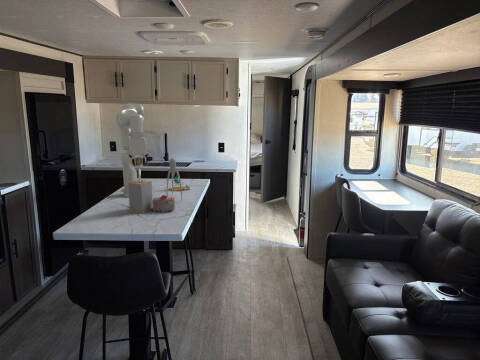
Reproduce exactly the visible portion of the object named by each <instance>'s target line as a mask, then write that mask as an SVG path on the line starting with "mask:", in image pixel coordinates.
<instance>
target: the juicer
mask: <svg viewBox="0 0 480 360" xmlns="http://www.w3.org/2000/svg"><path fill="white" fill-rule="evenodd" d="M170 174H171V181H172V182H171V188H172V190H171V191H172V193H171V194H172V195H174V190H173V188H174V181H173V180H174V178H175V174H176V176H177V175H178V178H179V182H180V184H179V187H180V189H181V190H180V199H181V201H183V191H182V190H183V189H182V187H183V186H182V185H181V184H182V180H181V177H180V173H179V170H178V169H177V163H176V159H175V158H174V157H172V158H171V157H170V159H169V170H168V173H167V179H166V196H167V197H169V194H168V193H169V190H168V189H169V179H170ZM180 180H181V181H180Z"/></svg>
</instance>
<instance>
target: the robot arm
mask: <svg viewBox="0 0 480 360" xmlns="http://www.w3.org/2000/svg"><path fill="white" fill-rule="evenodd" d="M144 114H145V108H144V106H143V104H141V103H126V104H123V105H122V106H121V111H120V112H117V113H116V115H115V120H116V121H115V122H116V123H117V126H118V129H119V131H120V139H121V140H120V141H121V148H122V149H123V150H124V151H126V152H124V153H122V154H121V155H120V162H121V167H122V176H123V188H121V190H120V192H121V193H122V192H123V193H122V197H125V198H129V190H128V183H130V182H133V181H137V180H138V171H137V169H136V167H135V165H136V159H135V158H136V157H142V164H143V166H145V164H146V163H147V157H148V156H149V155H150V154H151V151H150V150H149V149H148V147H147V146H148V145H147V140H146V137H144V123H145V119H144Z"/></svg>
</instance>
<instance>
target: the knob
mask: <svg viewBox="0 0 480 360" xmlns="http://www.w3.org/2000/svg"><path fill="white" fill-rule="evenodd" d="M135 159H136V165H135V166H134V168H137V170H138V171H137V176H138V180H139V183H141V180H142V179H141V178H142V177H141V176H142V175H141V168H143V167H144V165H143V164H142V157H136V158H135Z"/></svg>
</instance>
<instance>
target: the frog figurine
mask: <svg viewBox="0 0 480 360" xmlns="http://www.w3.org/2000/svg"><path fill="white" fill-rule="evenodd" d="M180 181H181V187H182V190H184V189H185V190H184V191H187V190H188V191H189V190H190V191H191V190H192V189H191V188H190V186H189V185H188V183H186V185H185V184H184V183H183V182H182V180H181V179H180ZM171 183H172V180H171ZM178 185H180V182H179V178H178V175H177V174H176V176H175V177H174V178H173V191H181V189H180V186H178ZM183 185H185V186H183ZM169 190H170V191H172V187H171V188H168V191H169Z"/></svg>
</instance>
